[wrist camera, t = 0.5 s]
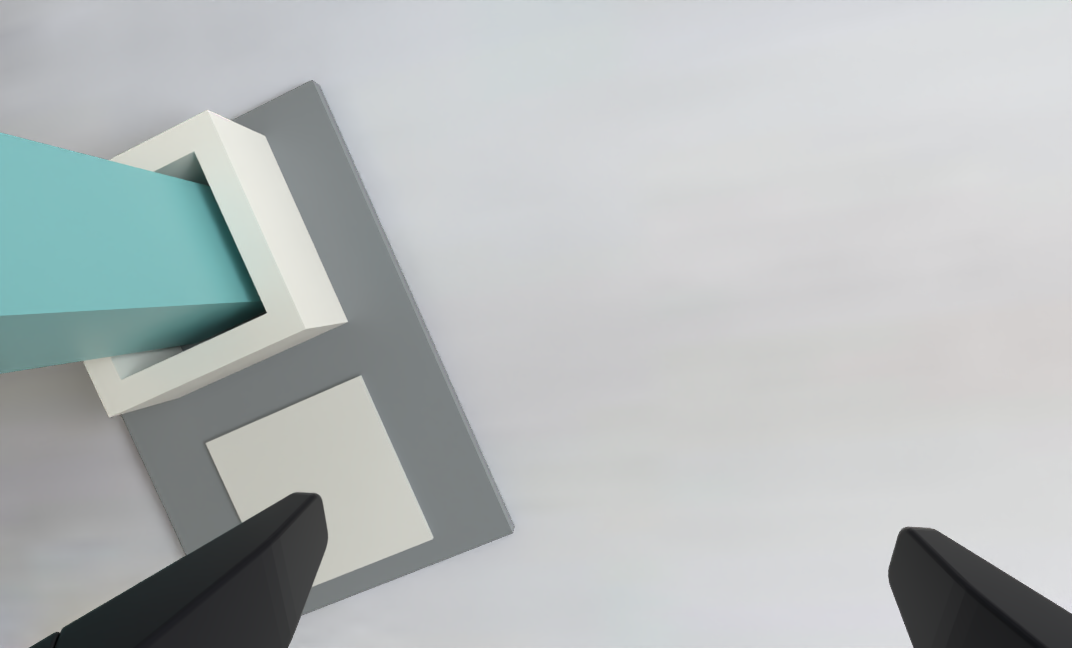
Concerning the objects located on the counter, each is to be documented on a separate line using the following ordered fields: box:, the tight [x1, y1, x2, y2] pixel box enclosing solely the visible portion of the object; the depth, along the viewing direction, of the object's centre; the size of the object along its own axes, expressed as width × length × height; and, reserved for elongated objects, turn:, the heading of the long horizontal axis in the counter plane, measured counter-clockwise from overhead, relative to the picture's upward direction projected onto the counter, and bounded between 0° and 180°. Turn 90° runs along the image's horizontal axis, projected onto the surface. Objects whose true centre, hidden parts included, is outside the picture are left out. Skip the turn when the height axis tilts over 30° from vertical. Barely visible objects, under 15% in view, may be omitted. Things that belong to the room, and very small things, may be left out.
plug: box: [0, 133, 266, 374], centre depth 16 cm, size 4×4×13 cm
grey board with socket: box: [83, 80, 515, 616], centre depth 21 cm, size 19×13×4 cm
